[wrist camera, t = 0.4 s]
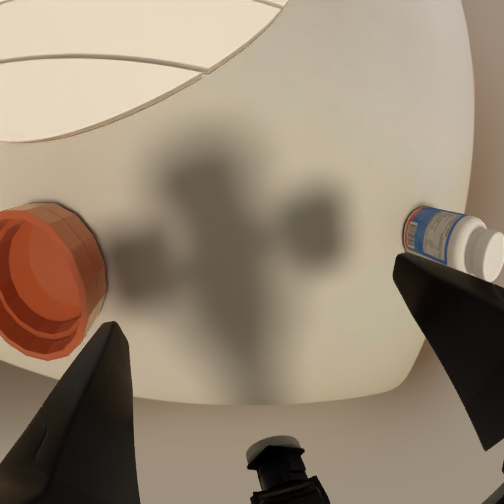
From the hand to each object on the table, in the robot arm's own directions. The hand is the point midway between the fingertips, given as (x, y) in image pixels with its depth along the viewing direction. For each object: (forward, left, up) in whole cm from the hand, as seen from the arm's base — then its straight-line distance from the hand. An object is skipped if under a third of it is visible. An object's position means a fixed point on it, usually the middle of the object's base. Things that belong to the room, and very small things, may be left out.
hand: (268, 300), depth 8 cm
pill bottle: (+8, -17, -14) cm, 23 cm away
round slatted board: (+18, +25, -14) cm, 33 cm away
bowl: (-10, +12, -13) cm, 20 cm away
